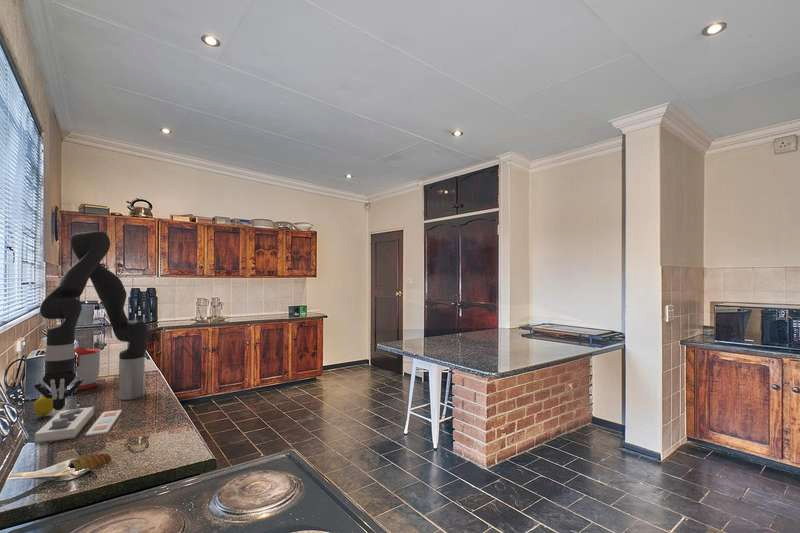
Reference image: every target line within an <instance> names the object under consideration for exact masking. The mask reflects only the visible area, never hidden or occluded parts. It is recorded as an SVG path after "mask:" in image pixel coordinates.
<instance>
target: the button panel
mask: <svg viewBox="0 0 800 533" xmlns="http://www.w3.org/2000/svg"><path fill="white" fill-rule="evenodd" d="M79 409H81V413H80V414H75V416H74V421H68V427H67V428H61V429H54V430H52V421H54V420H56V419H60V414H61V413H64V412H67V411H69V410H70V409H66V410H63V409H62V410H59V411H58V413H56V415H54V416H53V417H52V418H51V419H50V420H48V421H47V423H45V424H44V425H43V426H42V427H41V428H40V429H39V430H37V432H35V433H34V444H40V443H41V444H42V443H47V442H48V443H49V442H53V441H55V442H56V441H62V440H68V439H75V438H76V437H77V435H78V434H79V433H80V432H81V431H82V429H83V428H84V427H85V426H86V425H87V423H88V422H89V421H90V420H91V419H92V418H93V417H94V415H95V411H94V410H95V407H94V406H89V407H82V408H79ZM71 410H73V409H71Z"/></svg>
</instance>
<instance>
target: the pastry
mask: <svg viewBox="0 0 800 533" xmlns="http://www.w3.org/2000/svg"><path fill="white" fill-rule="evenodd" d="M111 461H112V458H111V455H110V454H108V453H99V454H98V453H93V454H85V455H83V456H79V457H78V456H77V457H76V458H75V459H71V460H70V461H69V463H68V465H67V468H68V467H70V468H75V471H79V470H82V469H87V468H89V471H91V470H94V469H96V468H99V467H101V466H103V465H105V464H107V463H108V464H109V462H110V463H111ZM108 464H107V465H108ZM105 466H106V465H105ZM103 467H104V466H103ZM101 468H102V467H101ZM99 469H100V468H99ZM96 470H97V469H96Z"/></svg>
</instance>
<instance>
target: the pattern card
mask: <svg viewBox="0 0 800 533" xmlns="http://www.w3.org/2000/svg"><path fill="white" fill-rule="evenodd" d="M122 412H123V409H117V410H109V411H103V412H102V413H101V415H100V416H99V417H98V418H97V420H95V422H94V423H93V424H92V425H91V427H90V428H89V429H88V431H87V432H86V433H85V437H89V436H90V437H91V436H97V435H103V434H104V433H105V434H108V433H109V431H111V428H112V427H113V426H114V425H115V422H116V421H117V420H118V418H119V417H120V415H121V414H122Z"/></svg>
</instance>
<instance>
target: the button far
mask: <svg viewBox="0 0 800 533" xmlns="http://www.w3.org/2000/svg"><path fill="white" fill-rule="evenodd" d="M68 410H69V411H67V412H71V411H73V412H75V414H80V413H81V409H80V408H74V409H73V410H72V409H68Z"/></svg>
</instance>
